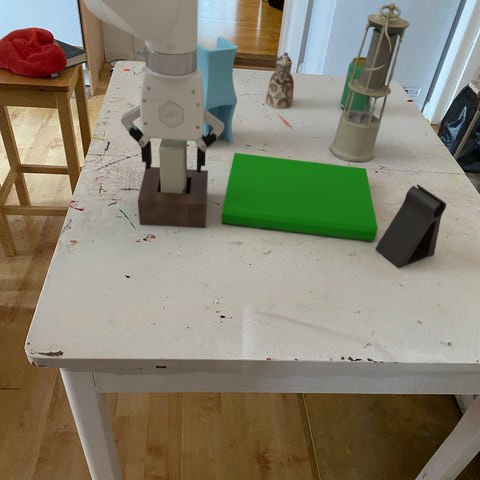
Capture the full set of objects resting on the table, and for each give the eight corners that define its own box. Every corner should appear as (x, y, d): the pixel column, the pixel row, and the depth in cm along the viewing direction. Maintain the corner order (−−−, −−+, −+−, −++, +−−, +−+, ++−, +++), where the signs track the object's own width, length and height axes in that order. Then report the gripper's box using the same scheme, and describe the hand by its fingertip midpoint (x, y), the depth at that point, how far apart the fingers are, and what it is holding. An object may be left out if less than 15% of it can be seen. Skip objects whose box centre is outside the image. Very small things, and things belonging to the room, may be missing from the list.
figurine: (262, 105, 127) (268, 56, 118) (269, 96, 131) (275, 48, 123) (288, 110, 125) (296, 61, 117) (294, 101, 130) (301, 53, 122)
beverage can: (366, 117, 127) (379, 69, 118) (337, 111, 128) (348, 63, 119) (370, 106, 132) (383, 60, 123) (342, 100, 133) (352, 54, 125)
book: (233, 165, 102) (234, 152, 100) (362, 181, 102) (365, 168, 100) (221, 224, 87) (222, 210, 84) (373, 243, 87) (378, 229, 84)
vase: (216, 128, 114) (220, 36, 100) (233, 142, 110) (240, 47, 96) (187, 134, 111) (187, 39, 97) (204, 148, 107) (207, 51, 92)
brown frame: (139, 224, 85) (137, 200, 81) (147, 189, 93) (145, 166, 89) (205, 228, 86) (206, 204, 82) (207, 193, 94) (208, 170, 90)
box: (184, 217, 87) (184, 151, 78) (161, 215, 87) (158, 149, 78) (187, 201, 91) (187, 137, 82) (164, 199, 91) (162, 135, 82)
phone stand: (410, 237, 89) (434, 179, 80) (433, 255, 85) (461, 197, 77) (374, 249, 85) (395, 190, 77) (397, 268, 82) (422, 209, 73)
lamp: (375, 147, 114) (419, 2, 93) (369, 171, 106) (416, 17, 84) (333, 138, 116) (367, -7, 94) (324, 161, 107) (358, 7, 86)
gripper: (108, 63, 68) (120, 174, 80) (229, 73, 69) (223, 181, 81) (117, 47, 73) (127, 154, 85) (229, 56, 74) (223, 160, 86)
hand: (174, 167), depth 83 cm, fingers open, 8 cm apart
